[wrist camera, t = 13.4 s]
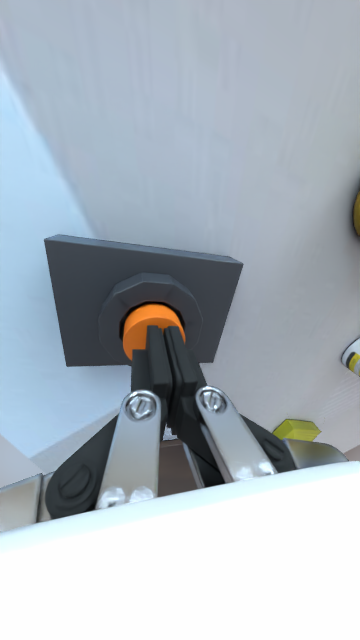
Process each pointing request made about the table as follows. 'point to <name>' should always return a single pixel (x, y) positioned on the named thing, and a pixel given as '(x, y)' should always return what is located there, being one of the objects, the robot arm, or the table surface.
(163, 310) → the button
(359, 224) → the mug
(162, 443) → the cabinet
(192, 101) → the table surface
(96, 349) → the control block
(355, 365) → the supplement bottle
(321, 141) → the table surface
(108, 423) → the robot arm
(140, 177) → the table surface
